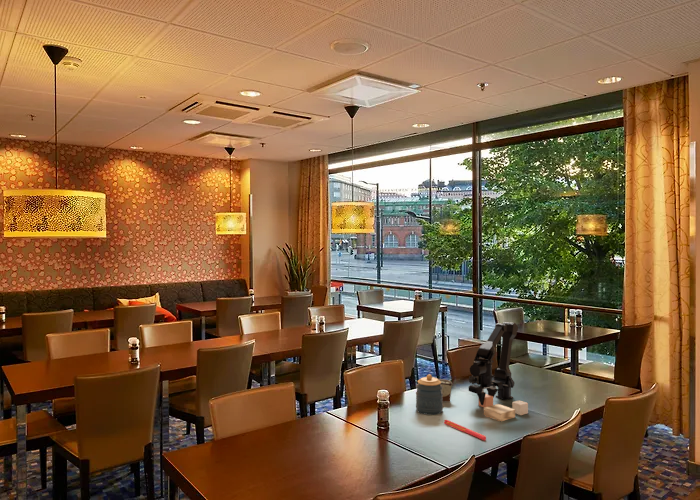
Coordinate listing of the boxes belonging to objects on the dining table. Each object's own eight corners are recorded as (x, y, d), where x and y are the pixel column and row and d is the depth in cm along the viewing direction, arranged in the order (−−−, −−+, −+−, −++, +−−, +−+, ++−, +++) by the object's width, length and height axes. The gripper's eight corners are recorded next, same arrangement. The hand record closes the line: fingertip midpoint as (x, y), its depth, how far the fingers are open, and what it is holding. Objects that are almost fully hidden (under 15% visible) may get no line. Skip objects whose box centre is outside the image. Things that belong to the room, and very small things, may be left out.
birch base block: (498, 412, 251) (498, 403, 250) (515, 418, 242) (515, 409, 242) (483, 416, 245) (483, 407, 245) (500, 422, 237) (500, 413, 237)
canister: (446, 408, 255) (445, 372, 255) (438, 416, 244) (438, 379, 243) (420, 405, 261) (420, 369, 260) (412, 413, 249) (412, 376, 249)
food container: (451, 398, 272) (451, 379, 271) (452, 401, 266) (452, 382, 265) (427, 397, 273) (427, 378, 273) (428, 401, 267) (428, 381, 267)
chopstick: (449, 424, 236) (441, 423, 234) (450, 420, 237) (442, 418, 234) (489, 442, 216) (481, 440, 214) (490, 437, 216) (482, 435, 214)
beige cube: (519, 410, 252) (519, 400, 252) (527, 413, 248) (527, 403, 247) (512, 412, 249) (512, 402, 249) (520, 415, 245) (520, 404, 245)
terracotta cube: (485, 403, 262) (485, 393, 262) (493, 406, 258) (493, 396, 258) (478, 405, 259) (478, 395, 259) (486, 408, 255) (486, 398, 255)
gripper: (486, 366, 270) (486, 396, 270) (460, 371, 260) (460, 402, 261) (503, 371, 261) (503, 402, 261) (476, 376, 251) (477, 409, 251)
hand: (485, 403), depth 259 cm, fingers closed on terracotta cube, 5 cm apart
